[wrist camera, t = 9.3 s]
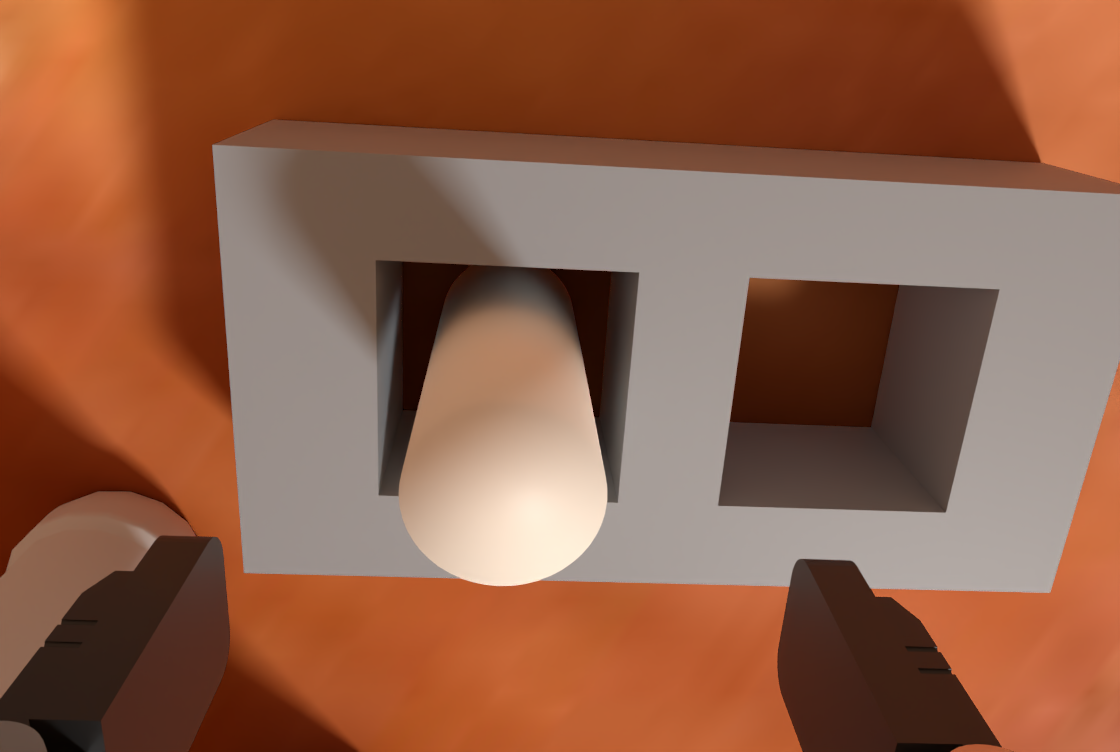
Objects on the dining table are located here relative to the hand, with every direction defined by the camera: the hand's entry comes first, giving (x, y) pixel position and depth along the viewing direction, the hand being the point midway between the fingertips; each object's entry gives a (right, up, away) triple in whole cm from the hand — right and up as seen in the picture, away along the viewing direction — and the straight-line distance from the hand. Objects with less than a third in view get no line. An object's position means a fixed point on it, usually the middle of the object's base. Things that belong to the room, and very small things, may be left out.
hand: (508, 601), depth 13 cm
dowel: (-1, +5, +12) cm, 13 cm away
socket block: (+3, +5, +13) cm, 14 cm away
